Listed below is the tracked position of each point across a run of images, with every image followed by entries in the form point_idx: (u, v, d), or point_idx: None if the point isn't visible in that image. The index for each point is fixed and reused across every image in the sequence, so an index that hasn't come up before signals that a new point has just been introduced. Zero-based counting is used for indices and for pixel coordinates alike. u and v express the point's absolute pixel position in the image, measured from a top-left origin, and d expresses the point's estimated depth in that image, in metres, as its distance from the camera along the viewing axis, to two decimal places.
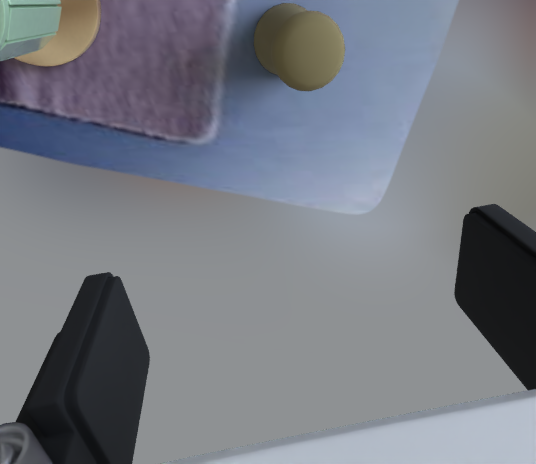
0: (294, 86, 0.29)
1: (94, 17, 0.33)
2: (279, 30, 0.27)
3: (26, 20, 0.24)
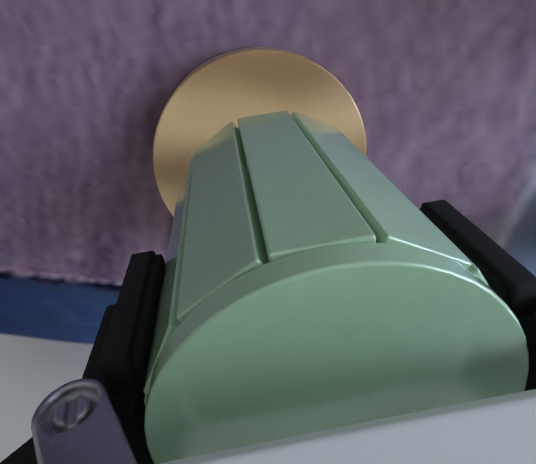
0: None
1: None
2: None
3: None
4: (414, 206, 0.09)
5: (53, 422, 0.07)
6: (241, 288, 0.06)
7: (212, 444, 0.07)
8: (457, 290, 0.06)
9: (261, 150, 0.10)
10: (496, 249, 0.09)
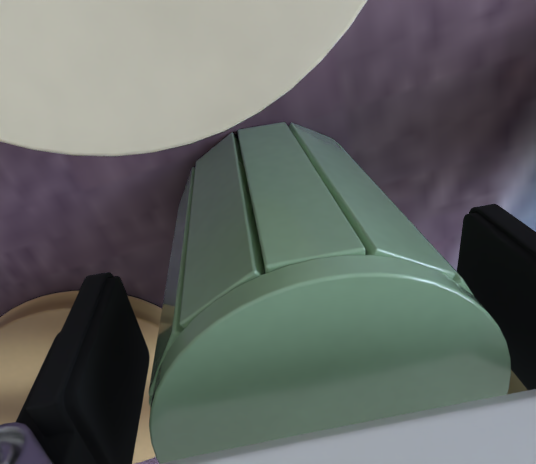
0: None
1: None
2: None
3: None
4: (404, 218, 0.09)
5: None
6: (240, 297, 0.06)
7: (213, 443, 0.08)
8: (441, 299, 0.07)
9: (260, 162, 0.11)
10: None
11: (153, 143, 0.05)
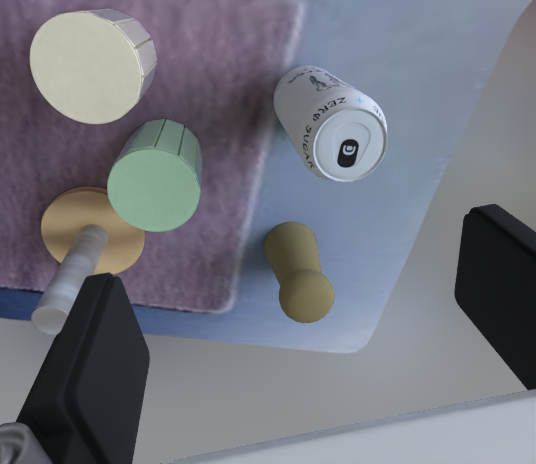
0: None
1: (141, 244, 0.43)
2: (285, 288, 0.37)
3: None
4: (179, 144, 0.33)
5: None
6: (125, 155, 0.30)
7: (123, 196, 0.32)
8: (169, 156, 0.31)
9: (145, 131, 0.35)
10: None
11: (104, 121, 0.29)
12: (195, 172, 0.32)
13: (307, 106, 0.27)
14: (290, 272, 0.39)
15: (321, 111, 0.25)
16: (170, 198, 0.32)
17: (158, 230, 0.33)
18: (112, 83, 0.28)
